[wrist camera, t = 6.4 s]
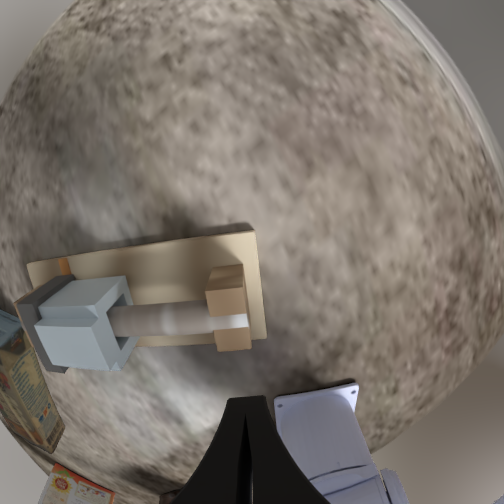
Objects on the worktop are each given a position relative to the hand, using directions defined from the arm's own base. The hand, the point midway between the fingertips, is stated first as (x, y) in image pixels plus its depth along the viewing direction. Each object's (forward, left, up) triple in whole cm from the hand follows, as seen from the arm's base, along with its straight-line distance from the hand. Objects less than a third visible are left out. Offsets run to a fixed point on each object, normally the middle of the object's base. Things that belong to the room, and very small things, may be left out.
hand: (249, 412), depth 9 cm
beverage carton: (-9, +29, -11) cm, 32 cm away
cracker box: (-42, +40, -11) cm, 59 cm away
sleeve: (+1, +10, -9) cm, 14 cm away
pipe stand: (+1, +9, -10) cm, 14 cm away
